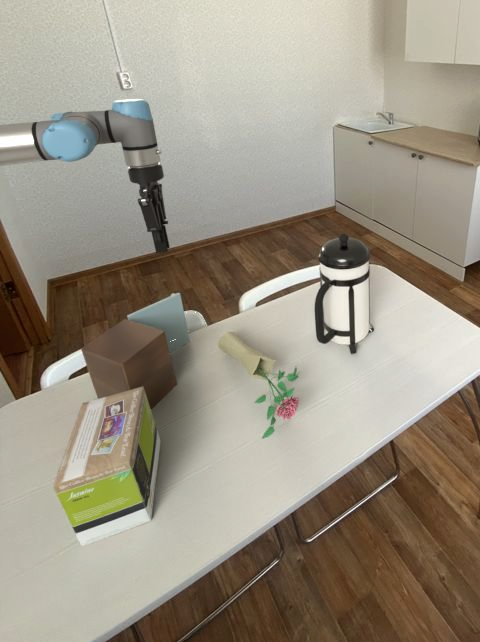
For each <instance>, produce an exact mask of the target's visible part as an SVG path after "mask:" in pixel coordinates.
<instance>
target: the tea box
mask: <svg viewBox="0 0 480 642" xmlns="http://www.w3.org/2000/svg"><path fill="white" fill-rule="evenodd" d="M67 442H68V443H67V445H66V447H65V450H64V453H63V456H62V459H61V461H60V464H59V468H58V470H57V473H56V476H55V480H54V482H53V485H52V488H53V490H54V493H55V495H56V497H57V499H58V501H59V503H60V505H61V507H62V509H63V512H64V513H65V515H66V517H67V519H68V521H69V524H70V526H71V528H72V530H73V531H74V534H75V536H76V538H77V540H78V542H79V544H80V546H81V547H84V546H87V545H90V544H93V543H95V542H98V541H101V540H104V539H106V538H110V537H112V536H116V535H117V534H120V533H123V532H126V531H128V530H131V529H134V528H136V527H139V526H141V525H144V524H147V523H149V522H151V521H152V516H153V507H154V499H155V492H156V484H157V475H158V467H159V460H160V451H161V443H162V442H161V437H160V434H159V431H158V428H157V425H156V422H155V419H154V415H153V412H152V409H150V406H149V403H148V400H147V396H146V393H145V390H144V387H143V386H142V387H139V388H136V389H132V390H129V391H125V392H122V393H118V394H114V395H111V396H107V397H104V398H100V399H98V398H96V399H93V400H89V401H86V402H85V401H84V402H82V404H81V407H80V409H79V412H78V413H77V417H76V420H75V422H74V425H73V428H72V431H71V434H70V437H69V439H68V441H67Z"/></svg>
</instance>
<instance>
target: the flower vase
mask: <svg viewBox="0 0 480 642" xmlns="http://www.w3.org/2000/svg"><path fill="white" fill-rule="evenodd" d="M217 345H218V348H219V350H221V352H224V353H225V354H228V355H229V356H231V357H232V358H234V359H237V360H238V361H239V362H240V363H241V364H242V366H243V367H244V369H245V371H246V372H247V374H248V375H249V377H251V378H254V379H255V378H256V379H259V380H264V381H267V383H268V388H269V389H270V391H271V394H269V396H270V397H269V398H270V399H269V400H270V401H272V396H273V402H274V404H278V405H279V406H277V407H276V405H274V406H273V405H272V403H270V404H271V405H269V406H268V407H267V412H266V420H267V421H268V420H270V424H269V425H270V426H268V428H267V429H266V430H265V432H264V433H263V435H262V438H261V439H266V438H269V437H270V436H272V435H273V434H274V432H275V428H274V424H275V423H276V422H277V419H276V418H275V415H276V417H281V418H282V420H283V421H285V420H287V421H288V420H291V419H292V418H293V417H294V416H295V415H296V412H297V410H298V407H299V402H300V398H299V396H297V397H296V396H294V391H295V387H292V388H289V389H287V385H286V383H288V382H290V383H292V382H294V381H296V380H297V379H299V378H300V376H299V374H300V372H298V367H297V366H295V367H294V370H293V373H288V374H287V375H286V376H284V375H285V374H286V371H281V369H279V370H278V373H275V375H277V376H273V377H272V378H271V380H270V379H269V376H270V375H273V373H271V372H272V369H273V367H274V364H275V362H276V359H274V358H272V357H269V356H267V355H265V354H264V353H262V352H259V351H257V350H255V349H253V348H251V347H249V346H248V345H247V344H246V343H245V342H244V341H243V340H242V339H241V338H240V337H239V336H238V335H237V334H235V333H234V332H233V331H227V332H224V333H223V334H222V335H221V336H220V337H219V340H218V343H217ZM297 372H298V373H297ZM273 378H274V379H275V380H276V381H277V382H278V383H277V384H276V385H275V384H274V383H273V382H272V380H273ZM282 378H286V379H284V380H282ZM273 388H274V390H275V391H276V392H277V394H278V395H275V393H274V390H273ZM280 391H281V392H283V393H282V394H281V392H280ZM271 395H272V396H271ZM267 396H268V393H266V394H265V393H264V394H263V395H261V396H259V397H258V398H257V399H256V400H255V401H254V404H262V403H264V402H266V400H267ZM275 413H276V414H275ZM270 418H271V419H270Z"/></svg>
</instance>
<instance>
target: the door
mask: <svg viewBox="0 0 480 642" xmlns="http://www.w3.org/2000/svg"><path fill="white" fill-rule="evenodd" d="M126 317H127V318H126V319H127V320H130V321H133V322H136V323H140V324H143V325H146V326H149V327H153V328H156V329H159V330H162V331H165V335H166V339H167V343H168V348H169V352H170V353H172V352H173V351H176V350H177V349H179V348H181V347H182V346H185V345H186V344H189V343H190V342H191V339H190V334H189V329H188V325H187V324H188V323H187V321H186V320H187V318H186V315H185V310H184V305H183V301H182V296H181V293H180V292H176V293H171V294H170V296H168V297H165V298H163V299H161V300H159V301H155V303H152V304H149V305H147V306H146V307H143V308H140V309H138V310H136V311H134V312H132V313H129V314H127V315H126ZM174 339H176V340H174ZM172 340H174V341H172ZM170 341H171V342H170Z"/></svg>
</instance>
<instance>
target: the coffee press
mask: <svg viewBox="0 0 480 642" xmlns="http://www.w3.org/2000/svg"><path fill="white" fill-rule="evenodd" d="M317 259H318V262H319V284H320V287H319V289H318V291H317V293H316V296H315V299H314V324H315V336H316V340H317V342H319V343H320V344H322V345H327V344H328V343H329V342H330V341H331V342H333V343H334V344H338V345H342V346H348V347H349V352H350V354H351V355H354V354H355V355H356V354H357V346H356V344H357V343H360V342H361V341H362V340H364V339H365V338H366V337H367V335H368V333H374V331H375V327H374V326H373V324H372V323H371V305H370V304H371V303H370V302H371V298H370V297H371V296H370V295H371V294H370V292H371V291H370V275H371V274H370V273H371V267H370V259H371V250H370V249H369V247H368V246H367V245H366V244H365V242H363V241H361V240H360V239H357V238H355V237H350V236H348V234H346V233H341V234H339V237H335V238H333V239H330V240H328V241H327V242H325V243H324V244H323V245H322V246H321V248H320V250H319V251H318V253H317ZM370 327H371V328H370ZM369 329H371V330H372V332H370V330H369Z"/></svg>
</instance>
